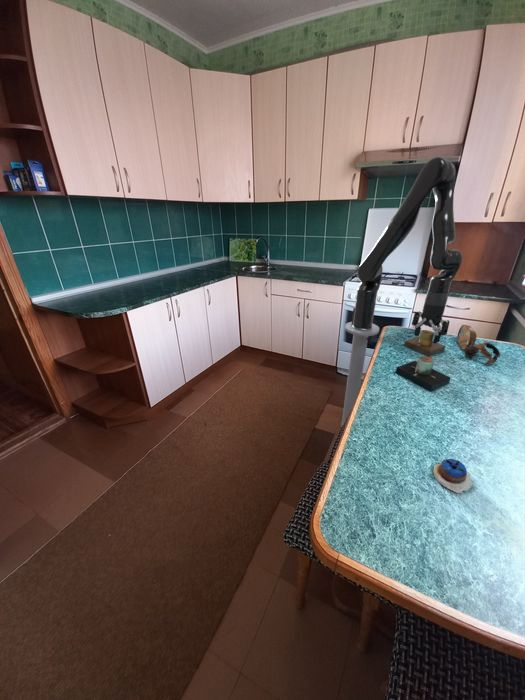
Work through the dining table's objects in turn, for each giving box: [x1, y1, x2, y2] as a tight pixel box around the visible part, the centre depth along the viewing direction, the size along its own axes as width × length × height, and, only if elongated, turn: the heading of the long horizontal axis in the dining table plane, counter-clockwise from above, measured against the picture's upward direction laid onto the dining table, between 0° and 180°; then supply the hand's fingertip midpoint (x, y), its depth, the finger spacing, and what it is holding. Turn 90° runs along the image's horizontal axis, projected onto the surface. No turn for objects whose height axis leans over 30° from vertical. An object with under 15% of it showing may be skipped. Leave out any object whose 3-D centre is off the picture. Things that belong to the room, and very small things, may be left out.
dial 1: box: [419, 329, 435, 346], centre depth 123 cm, size 5×5×5 cm
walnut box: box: [403, 335, 446, 357], centre depth 124 cm, size 12×10×3 cm
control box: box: [395, 360, 452, 392], centre depth 103 cm, size 14×10×3 cm
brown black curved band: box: [463, 341, 501, 366], centre depth 114 cm, size 12×10×8 cm
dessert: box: [433, 458, 473, 494], centre depth 66 cm, size 8×7×6 cm
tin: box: [456, 324, 477, 351], centre depth 124 cm, size 15×3×8 cm, turn 161°
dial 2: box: [415, 355, 435, 376], centre depth 102 cm, size 5×5×5 cm
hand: (425, 339), depth 123 cm, fingers open, 8 cm apart
